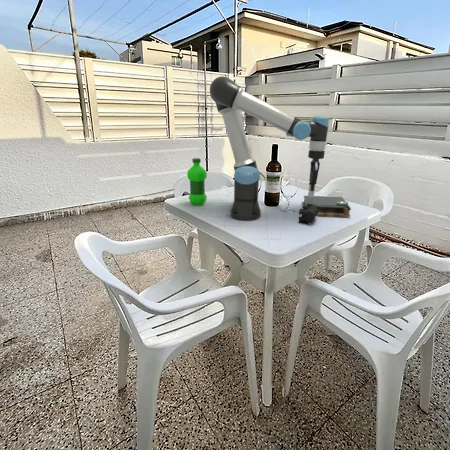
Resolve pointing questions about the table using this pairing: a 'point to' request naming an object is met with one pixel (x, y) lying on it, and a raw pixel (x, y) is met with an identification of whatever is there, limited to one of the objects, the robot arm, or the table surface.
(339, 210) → the walnut stand
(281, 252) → the table surface
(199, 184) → the plastic bottle
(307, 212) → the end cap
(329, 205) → the tilting plate
